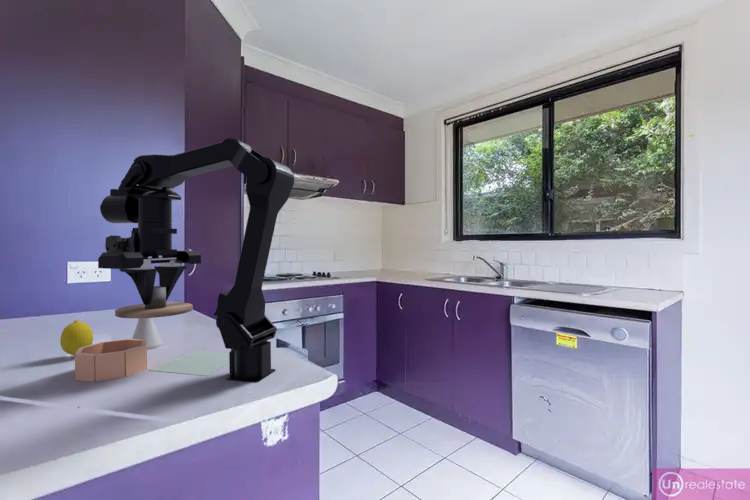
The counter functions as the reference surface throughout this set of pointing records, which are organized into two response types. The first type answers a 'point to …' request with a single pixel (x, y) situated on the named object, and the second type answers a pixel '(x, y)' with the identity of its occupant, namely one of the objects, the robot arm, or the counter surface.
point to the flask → (148, 333)
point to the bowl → (110, 359)
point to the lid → (154, 307)
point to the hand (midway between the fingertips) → (155, 302)
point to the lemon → (76, 337)
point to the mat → (196, 363)
